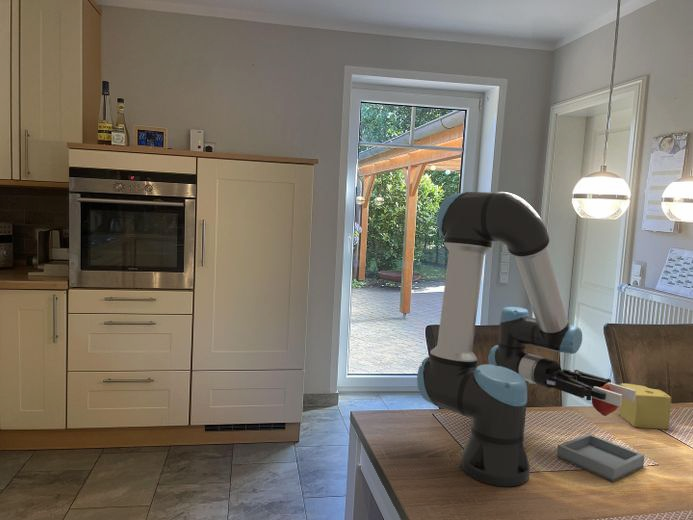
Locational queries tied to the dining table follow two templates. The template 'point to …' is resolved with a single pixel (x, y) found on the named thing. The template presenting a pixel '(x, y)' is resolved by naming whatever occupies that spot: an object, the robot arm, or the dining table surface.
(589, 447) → the tray
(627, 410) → the cheese
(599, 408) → the onion
